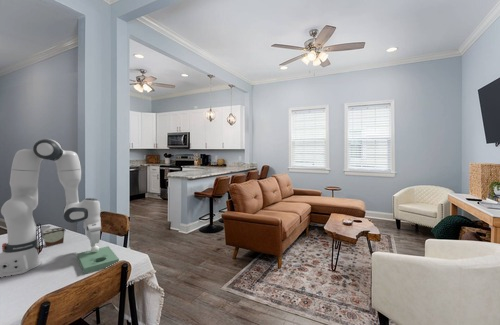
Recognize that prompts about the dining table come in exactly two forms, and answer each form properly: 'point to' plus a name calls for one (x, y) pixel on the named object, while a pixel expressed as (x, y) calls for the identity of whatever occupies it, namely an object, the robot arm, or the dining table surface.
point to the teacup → (45, 229)
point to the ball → (94, 248)
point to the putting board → (96, 259)
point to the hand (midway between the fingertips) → (92, 246)
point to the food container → (53, 236)
